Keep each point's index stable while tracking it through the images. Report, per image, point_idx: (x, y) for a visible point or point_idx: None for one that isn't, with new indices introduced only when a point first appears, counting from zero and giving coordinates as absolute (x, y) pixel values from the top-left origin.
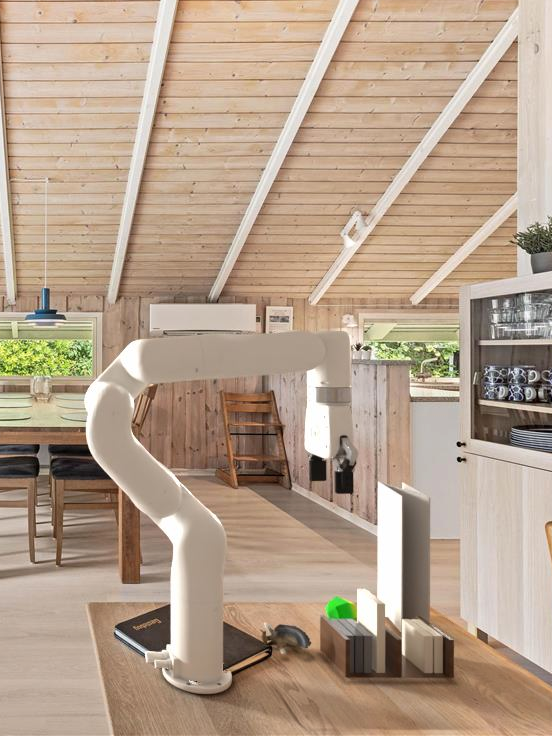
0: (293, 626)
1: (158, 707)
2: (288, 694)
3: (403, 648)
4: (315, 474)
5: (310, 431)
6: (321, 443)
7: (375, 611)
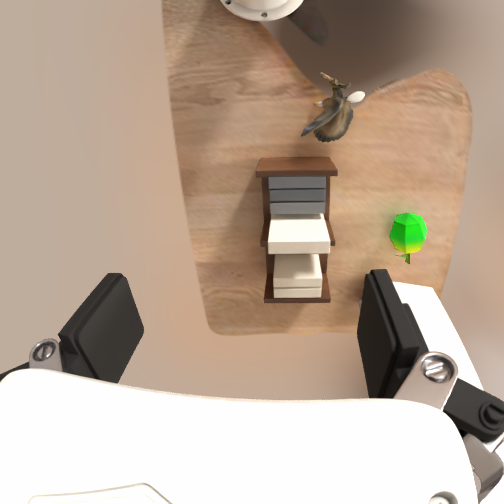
0: (323, 120)
1: None
2: (228, 79)
3: (315, 258)
4: (369, 311)
5: None
6: (17, 466)
7: (272, 235)
